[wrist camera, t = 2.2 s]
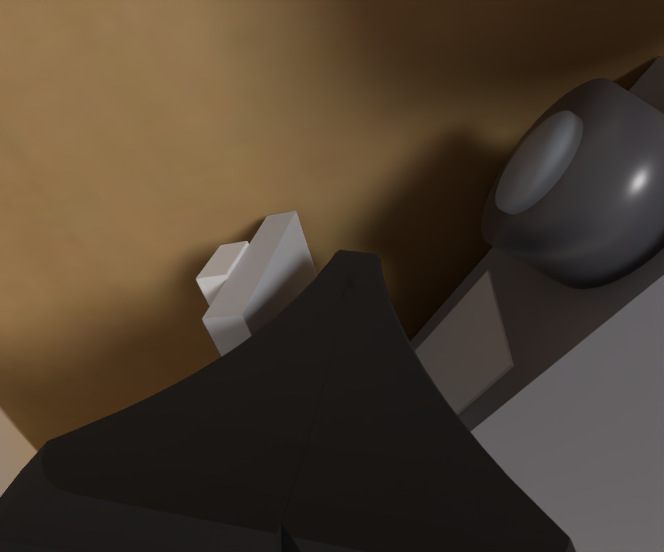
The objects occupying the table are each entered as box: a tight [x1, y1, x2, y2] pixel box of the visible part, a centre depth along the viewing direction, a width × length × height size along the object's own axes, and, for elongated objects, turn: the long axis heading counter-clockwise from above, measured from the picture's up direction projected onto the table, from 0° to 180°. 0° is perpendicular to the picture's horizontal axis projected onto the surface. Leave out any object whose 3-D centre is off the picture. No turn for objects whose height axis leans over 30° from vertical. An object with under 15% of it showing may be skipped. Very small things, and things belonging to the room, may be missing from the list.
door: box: [196, 211, 317, 357], centre depth 12 cm, size 8×2×5 cm, turn 15°
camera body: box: [410, 56, 664, 552], centre depth 10 cm, size 9×12×5 cm
